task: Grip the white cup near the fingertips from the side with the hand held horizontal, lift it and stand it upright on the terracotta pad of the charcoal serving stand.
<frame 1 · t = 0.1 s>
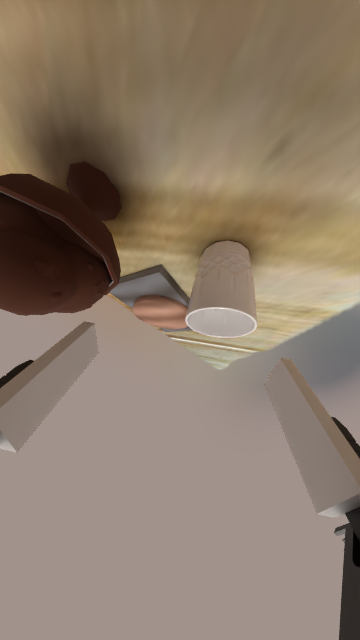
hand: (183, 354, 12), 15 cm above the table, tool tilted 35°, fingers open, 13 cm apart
white cup: (224, 259, 23), on the table
serving stand: (164, 305, 38), on the table
ice cream bowl: (96, 193, 18), on the table
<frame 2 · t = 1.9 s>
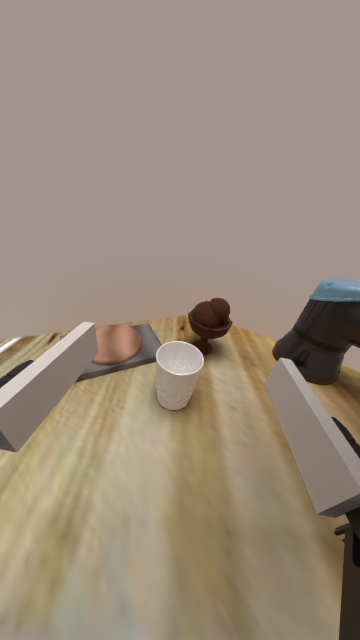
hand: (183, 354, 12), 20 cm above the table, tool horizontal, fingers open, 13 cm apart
white cup: (173, 394, 32), on the table
serving stand: (114, 349, 40), on the table
ice cream bowl: (202, 347, 46), on the table
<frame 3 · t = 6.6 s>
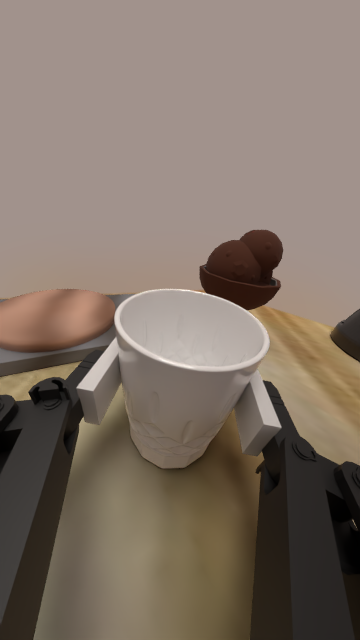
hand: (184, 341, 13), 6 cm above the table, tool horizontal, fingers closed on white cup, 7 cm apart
white cup: (171, 420, 14), on the table, touching gripper
serving stand: (64, 328, 22), on the table
ice cream bowl: (220, 330, 28), on the table
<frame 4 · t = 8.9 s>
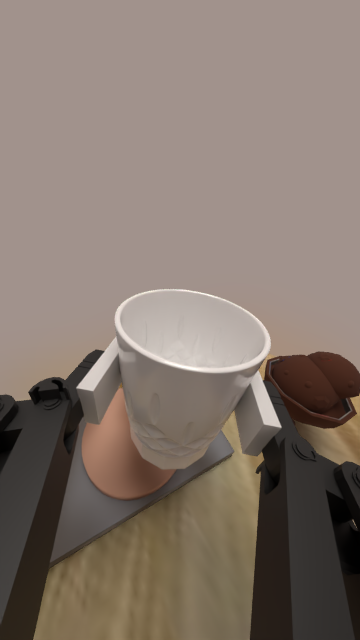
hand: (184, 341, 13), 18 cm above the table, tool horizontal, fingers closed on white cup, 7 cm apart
white cup: (171, 420, 14), point 12 cm above the table, touching gripper
serving stand: (138, 436, 23), on the table
ice cream bowl: (276, 420, 28), on the table
when the fingers open (9 cm above the table, at t = 11.5 s): white cup moves 2 cm, resting on serving stand.
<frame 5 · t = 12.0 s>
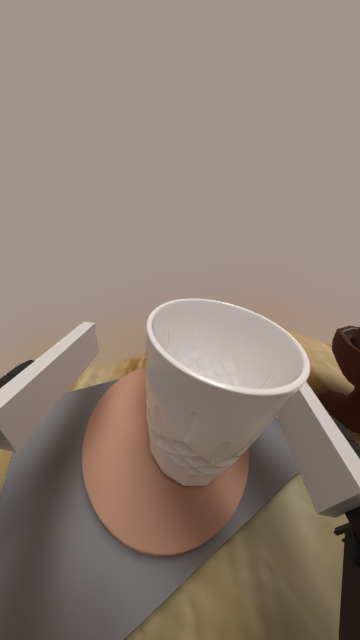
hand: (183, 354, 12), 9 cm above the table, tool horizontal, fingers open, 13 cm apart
white cup: (189, 432, 13), point 3 cm above the table, touching serving stand
serving stand: (166, 438, 15), on the table
ice cream bowl: (344, 412, 21), on the table
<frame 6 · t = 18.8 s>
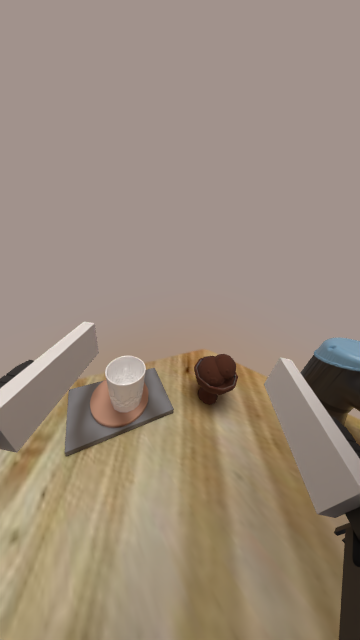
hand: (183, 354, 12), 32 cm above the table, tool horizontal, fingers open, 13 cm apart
white cup: (126, 399, 39), point 3 cm above the table, touching serving stand
serving stand: (121, 403, 41), on the table
ice cream bowl: (207, 395, 47), on the table
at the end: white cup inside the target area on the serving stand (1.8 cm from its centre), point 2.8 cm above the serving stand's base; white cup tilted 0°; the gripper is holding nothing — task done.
